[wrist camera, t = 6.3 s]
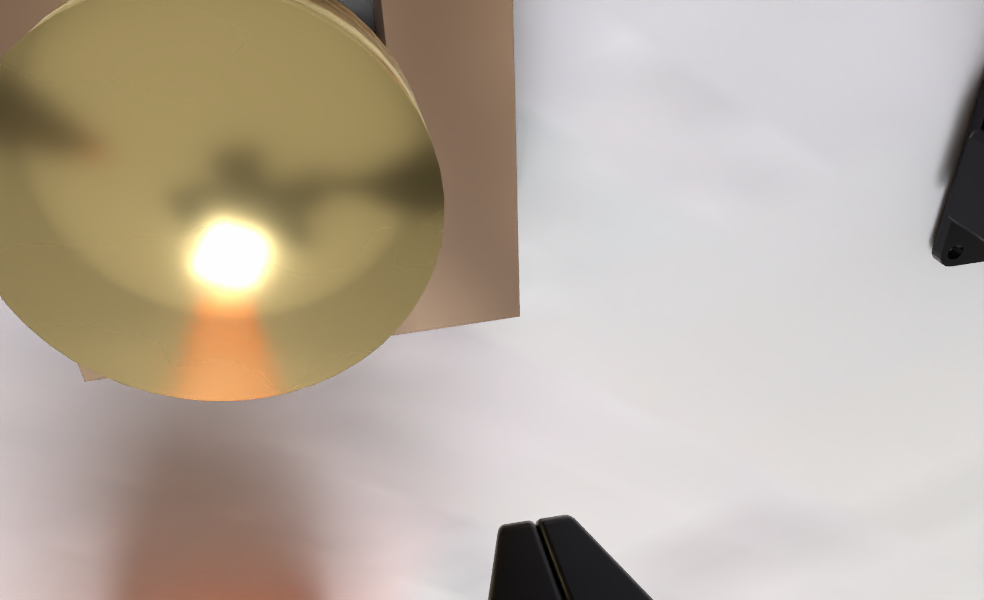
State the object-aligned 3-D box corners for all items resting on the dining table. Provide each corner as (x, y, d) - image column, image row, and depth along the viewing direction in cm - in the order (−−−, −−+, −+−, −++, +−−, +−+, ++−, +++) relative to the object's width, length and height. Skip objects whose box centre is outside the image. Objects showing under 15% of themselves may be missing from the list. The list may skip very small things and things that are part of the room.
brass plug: (364, -121, 14) (426, -38, 8) (393, 138, 17) (457, 366, 11) (73, -103, 14) (-138, 7, 7) (152, 166, 16) (54, 430, 10)
